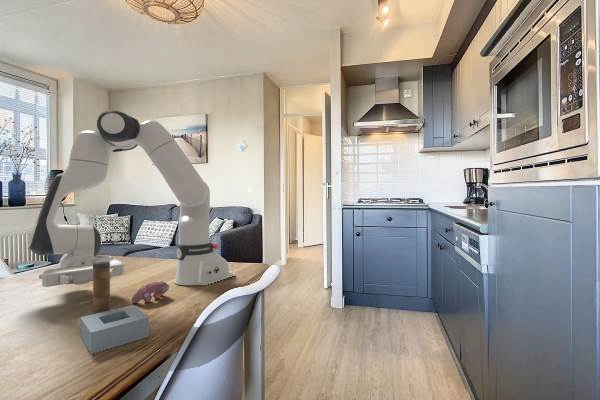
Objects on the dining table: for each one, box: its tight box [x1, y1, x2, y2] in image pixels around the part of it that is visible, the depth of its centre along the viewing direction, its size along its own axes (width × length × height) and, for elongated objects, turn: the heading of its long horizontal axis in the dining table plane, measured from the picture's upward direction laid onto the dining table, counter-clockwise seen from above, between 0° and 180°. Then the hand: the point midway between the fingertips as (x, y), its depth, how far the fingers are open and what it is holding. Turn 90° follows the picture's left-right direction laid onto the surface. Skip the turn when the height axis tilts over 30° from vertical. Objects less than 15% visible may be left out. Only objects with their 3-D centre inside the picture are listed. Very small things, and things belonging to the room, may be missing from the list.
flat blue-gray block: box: [80, 304, 150, 355], centre depth 69 cm, size 11×11×4 cm
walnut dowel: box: [92, 262, 111, 314], centre depth 77 cm, size 4×4×15 cm
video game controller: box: [131, 280, 170, 304], centre depth 93 cm, size 10×5×7 cm, turn 148°
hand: (90, 277), depth 86 cm, fingers open, 8 cm apart
